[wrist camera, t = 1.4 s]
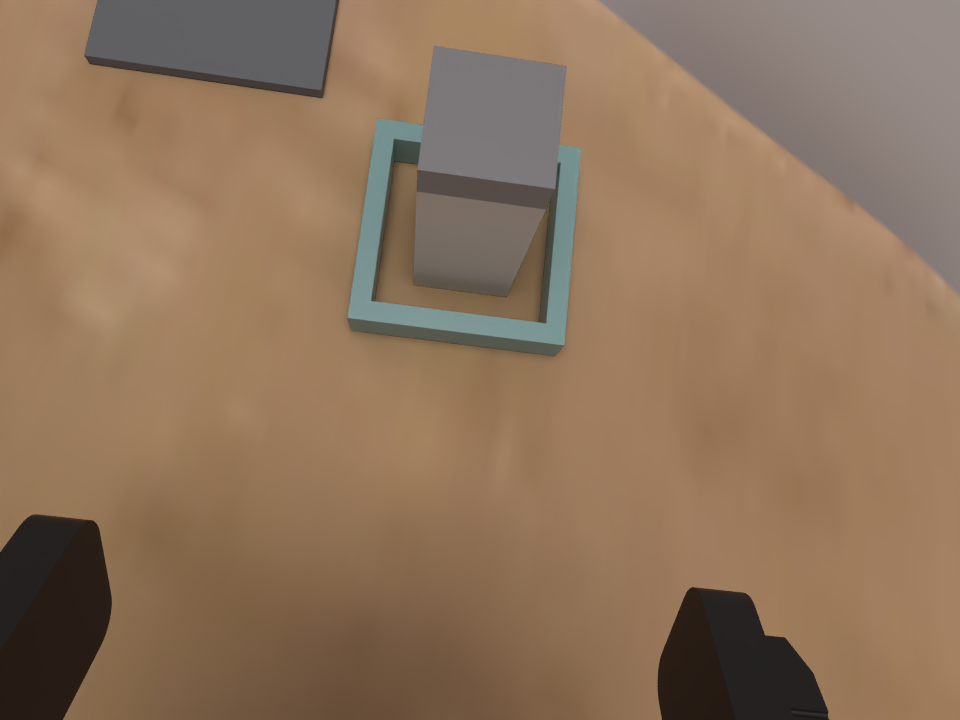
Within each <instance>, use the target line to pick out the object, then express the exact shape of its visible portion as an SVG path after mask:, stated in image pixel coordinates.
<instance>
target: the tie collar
mask: <svg viewBox="0 0 960 720" xmlns="http://www.w3.org/2000/svg"><path fill="white" fill-rule="evenodd" d="M422 132H423V125H419V124H412V123H406V122H399V121H392V120H385V119H378V118H377V122H376V129H375V136H374V143H373V149H372V156H371V163H370V170H369V176H368V183H367V190H366V197H365V203H364V210H363V217H362V224H361V230H360V237H359V244H358V251H357V257H356V264H355V271H354V278H353V285H352V291H351V298H350V305H349V312H348V321H349V325H350V329H351V330H352V331H360V332H368V333H376V334H384V335H392V336H400V337H408V338H416V339H424V340H432V341H440V342H448V343H456V344H464V345H472V346H480V347H487V348H495V349H503V350H511V351H519V352H527V353H535V354H543V355H551V356H555V355H556V354H557V353H558V352H559V351H560V350H561V348H562V347H563V346H564V343H565V331H566V320H567V308H568V296H569V284H570V272H571V261H572V249H573V237H574V225H575V213H576V201H577V190H578V178H579V166H580V154H581V148H577V147H570V146H564V145H559V153H558V164H557V175H556V186H555V191H554V193H553V195H552V197H551V199H550V209H549V220H548V231H547V241H546V252H545V263H544V274H543V285H542V296H541V306H540V317H539V322H531V321H523V320H515V319H507V318H500V317H492V316H484V315H476V314H469V313H461V312H453V311H445V310H437V309H430V308H422V307H414V306H406V305H399V304H391V303H383V302H375V295H376V288H377V281H378V274H379V267H380V260H381V253H382V246H383V239H384V231H385V224H386V217H387V210H388V203H389V196H390V189H391V182H392V175H393V167H394V161H399V162H406V163H413V164H418V162H419V154H420V147H421V139H422Z"/></svg>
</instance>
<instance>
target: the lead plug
mask: <svg viewBox="0 0 960 720" xmlns="http://www.w3.org/2000/svg"><path fill="white" fill-rule="evenodd" d="M565 76H566V66H563V65H556V64H550V63H543V62H537V61H530V60H524V59H517V58H511V57H504V56H498V55H491V54H484V53H478V52H471V51H465V50H458V49H452V48H445V47H439V46H434V49H433V57H432V64H431V72H430V79H429V87H428V94H427V102H426V109H425V117H424V124H423V132H422V139H421V147H420V154H419V162H418V169H417V194H416V220H415V247H414V273H413V285H416V286H424V287H432V288H439V289H447V290H455V291H462V292H470V293H478V294H485V295H493V296H501V297H507V295H508V292H509V290H510V288H511V286H512V283H513V281H514V279H515V277H516V275H517V272H518V270H519V268H520V266H521V264H522V261H523V259H524V257H525V255H526V253H527V250H528V248H529V246H530V244H531V241H532V239H533V237H534V235H535V233H536V230H537V228H538V226H539V224H540V222H541V219H542V217H543V215H544V213H545V211H546V208H547V206H548V204H549V202H550V199H551V197H552V195H553V193H554V191H555V186H556V175H557V164H558V153H559V142H560V131H561V120H562V109H563V98H564V87H565Z"/></svg>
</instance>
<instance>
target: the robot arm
mask: <svg viewBox="0 0 960 720" xmlns="http://www.w3.org/2000/svg"><path fill="white" fill-rule="evenodd" d="M111 606H112V597H111V591H110V585H109V580H108V574H107V569H106V564H105V558H104V553H103V547H102V542H101V536H100V531H99V528H98V525H97V524H96V523H95V522H94V521H92V520H83V519H74V518H65V517H56V516H46V515H31V516H30V517H28V518H27V519H26V520H25V521H23V523H22V524H21V525H20V526H19V528H18V529H17V530H16V532H15V533H14V534H13V536H12V537H11V539H10V540H9V541H8V543H7V544H6V545H5V547H4V548H3V550H2V551H1V552H0V720H63V718H64V716H65V714H66V712H67V710H68V709H69V707H70V705H71V703H72V701H73V699H74V697H75V695H76V693H77V691H78V689H79V687H80V685H81V683H82V681H83V679H84V677H85V676H86V674H87V672H88V670H89V668H90V666H91V664H92V662H93V660H94V658H95V656H96V654H97V652H98V650H99V648H100V646H101V644H102V642H103V640H104V637H105V634H106V631H107V628H108V624H109V620H110V615H111ZM658 698H659V705H660V710H661V715H662V720H829V719H828V710H827V707H826V705H825V702H824V700H823V697H822V694H821V692H820V689H819V687H818V684H817V682H816V679H815V676H814V674H813V672H812V671H811V670H810V668H809V667H808V666H807V665H806V663H805V662H804V661H803V660H802V658H801V657H800V656H799V655H798V653H797V652H796V651H795V650H794V648H793V647H792V646H791V645H790V643H789V642H788V641H787V640H786V638H784V637H774V636H765V634H764V631H763V628H762V625H761V623H760V620H759V617H758V614H757V611H756V608H755V605H754V603H753V601H752V599H751V598H750V596H749V595H748V594H746V593H741V592H732V591H723V590H714V589H704V588H695V587H692V588H690V589H689V590H688V591H687V593H686V595H685V597H684V599H683V602H682V604H681V607H680V609H679V612H678V614H677V617H676V619H675V622H674V624H673V627H672V629H671V632H670V634H669V637H668V639H667V642H666V644H665V647H664V649H663V652H662V655H661V658H660V662H659V669H658Z"/></svg>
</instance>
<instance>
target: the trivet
mask: <svg viewBox="0 0 960 720" xmlns="http://www.w3.org/2000/svg"><path fill="white" fill-rule="evenodd" d="M338 1H339V0H97V5H96V9H95V13H94V17H93V21H92V25H91V29H90V33H89V38H88V42H87V46H86V50H85V54H84V56H85V57H86V59H87V60H88V62H89V63H90V64H96V65H103V66H110V67H117V68H124V69H131V70H137V71H144V72H151V73H158V74H165V75H171V76H178V77H185V78H192V79H199V80H206V81H212V82H219V83H226V84H233V85H240V86H246V87H253V88H260V89H267V90H274V91H280V92H287V93H294V94H301V95H308V96H315V97H321V98H323V92H324V86H325V80H326V74H327V68H328V62H329V56H330V50H331V43H332V37H333V31H334V25H335V19H336V13H337V7H338Z"/></svg>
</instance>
